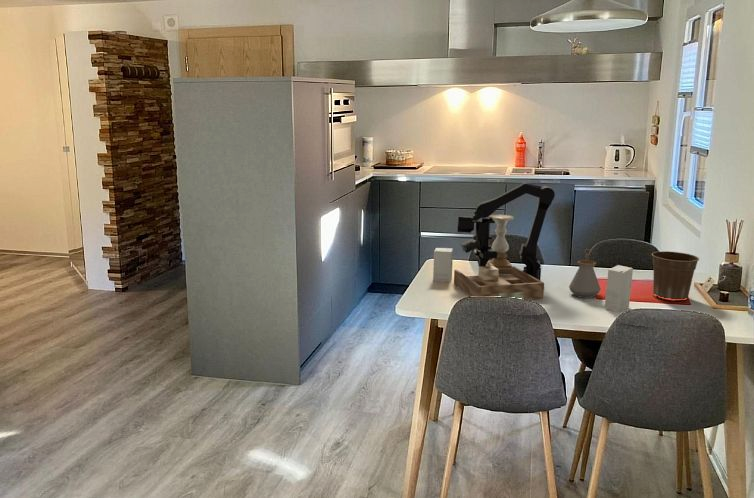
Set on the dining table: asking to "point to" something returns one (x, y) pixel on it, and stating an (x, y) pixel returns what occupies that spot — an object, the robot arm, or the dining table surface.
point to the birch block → (488, 272)
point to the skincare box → (618, 288)
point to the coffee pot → (585, 279)
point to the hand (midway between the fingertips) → (481, 270)
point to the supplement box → (443, 264)
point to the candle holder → (501, 245)
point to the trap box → (501, 285)
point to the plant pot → (673, 274)
